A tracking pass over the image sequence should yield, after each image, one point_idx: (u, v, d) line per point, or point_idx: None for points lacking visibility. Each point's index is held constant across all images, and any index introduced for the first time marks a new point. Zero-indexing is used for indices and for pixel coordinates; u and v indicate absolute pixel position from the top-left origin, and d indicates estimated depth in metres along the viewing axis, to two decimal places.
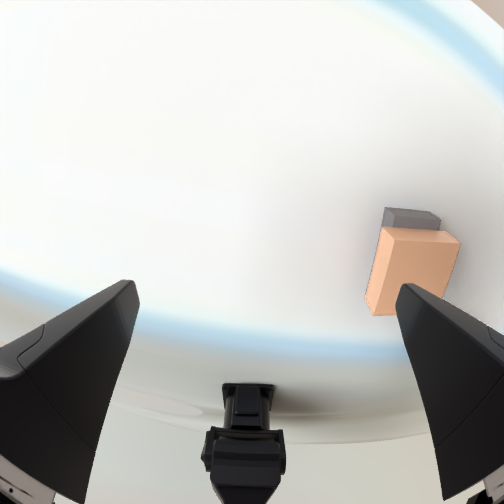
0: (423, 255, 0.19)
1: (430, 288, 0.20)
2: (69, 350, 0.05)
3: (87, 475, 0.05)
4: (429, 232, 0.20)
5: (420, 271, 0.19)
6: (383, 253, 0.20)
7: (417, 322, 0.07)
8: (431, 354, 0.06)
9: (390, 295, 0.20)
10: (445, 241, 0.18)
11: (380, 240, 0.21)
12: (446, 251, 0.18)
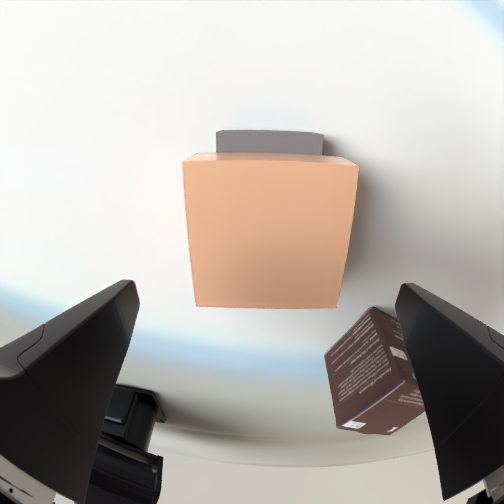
0: (261, 190, 0.11)
1: (305, 260, 0.12)
2: (69, 350, 0.05)
3: (87, 475, 0.05)
4: (292, 155, 0.12)
5: (266, 225, 0.12)
6: None
7: (417, 322, 0.07)
8: (431, 354, 0.06)
9: (214, 270, 0.13)
10: (315, 161, 0.10)
11: None
12: (322, 182, 0.11)
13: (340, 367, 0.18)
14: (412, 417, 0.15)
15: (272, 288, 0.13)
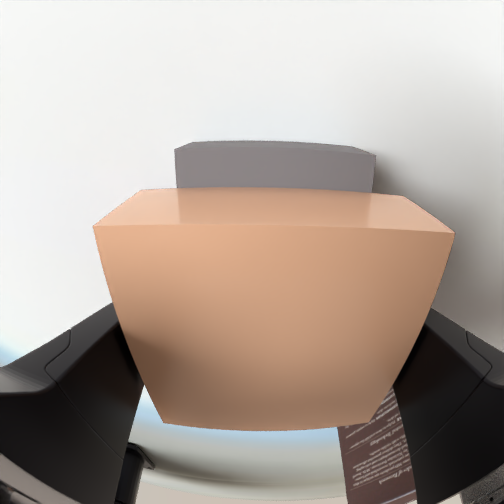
0: (259, 287, 0.05)
1: (335, 384, 0.06)
2: (100, 357, 0.05)
3: (114, 484, 0.05)
4: (323, 196, 0.06)
5: (270, 344, 0.06)
6: None
7: None
8: None
9: (182, 394, 0.07)
10: (379, 224, 0.05)
11: None
12: (387, 267, 0.05)
13: (357, 446, 0.13)
14: None
15: (277, 414, 0.07)
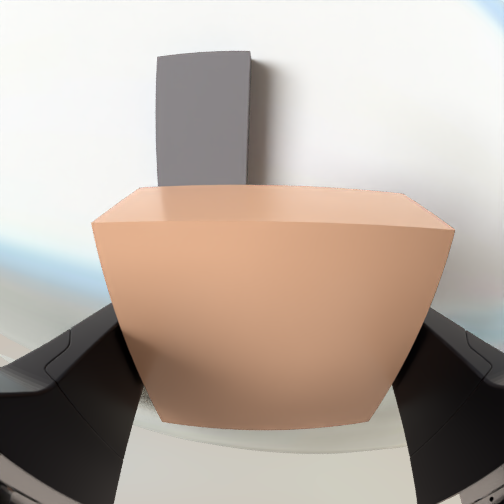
0: (258, 284, 0.05)
1: (334, 383, 0.06)
2: (100, 356, 0.05)
3: (114, 484, 0.05)
4: (321, 194, 0.06)
5: (269, 342, 0.06)
6: None
7: None
8: None
9: (181, 392, 0.07)
10: (378, 220, 0.05)
11: None
12: (387, 264, 0.05)
13: None
14: None
15: (276, 413, 0.07)
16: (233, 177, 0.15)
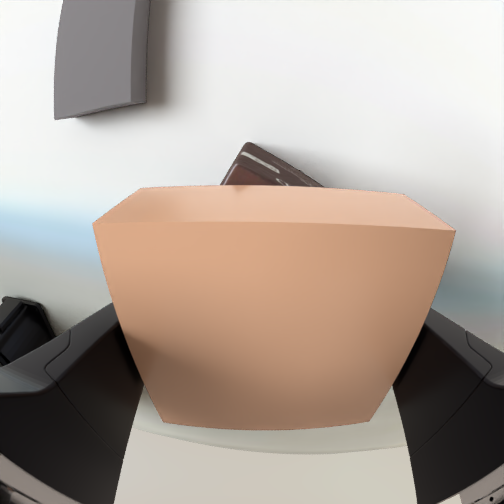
0: (259, 285, 0.05)
1: (335, 383, 0.06)
2: (100, 356, 0.05)
3: (114, 484, 0.05)
4: (322, 194, 0.06)
5: (270, 342, 0.06)
6: None
7: None
8: None
9: (181, 393, 0.07)
10: (379, 221, 0.05)
11: None
12: (388, 265, 0.05)
13: None
14: None
15: (277, 414, 0.07)
16: (118, 68, 0.10)
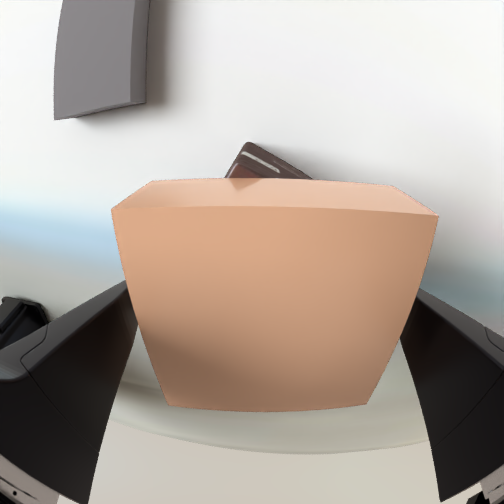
0: (261, 264, 0.06)
1: (332, 361, 0.07)
2: (73, 351, 0.05)
3: (90, 476, 0.05)
4: (317, 185, 0.07)
5: (271, 319, 0.06)
6: None
7: (414, 322, 0.07)
8: (428, 355, 0.06)
9: (187, 372, 0.07)
10: (367, 207, 0.05)
11: None
12: (376, 246, 0.05)
13: None
14: None
15: (277, 393, 0.08)
16: (118, 68, 0.10)
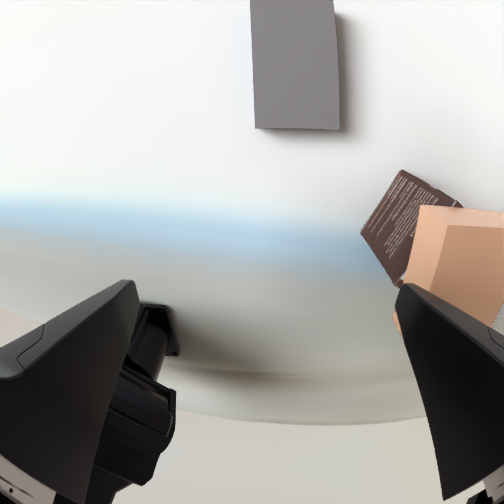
0: (485, 250, 0.10)
1: (488, 299, 0.11)
2: (69, 350, 0.05)
3: (87, 474, 0.05)
4: (487, 214, 0.11)
5: (479, 276, 0.10)
6: (426, 249, 0.11)
7: (417, 322, 0.07)
8: (431, 354, 0.06)
9: None
10: None
11: (419, 227, 0.12)
12: None
13: (382, 229, 0.17)
14: None
15: None
16: (328, 99, 0.14)
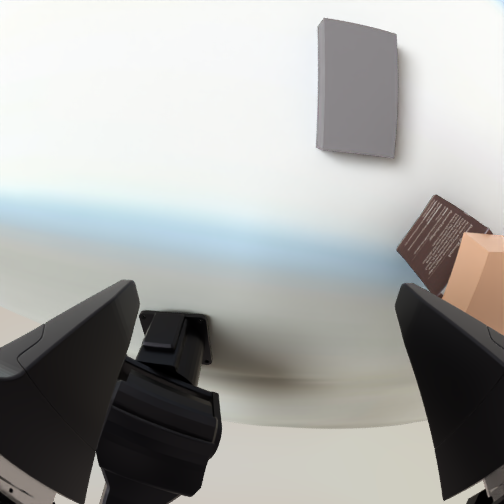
0: None
1: None
2: (69, 350, 0.05)
3: (87, 474, 0.05)
4: None
5: None
6: (467, 269, 0.12)
7: (417, 322, 0.07)
8: (431, 354, 0.06)
9: None
10: None
11: (461, 251, 0.13)
12: None
13: (420, 248, 0.18)
14: None
15: None
16: (387, 129, 0.15)
